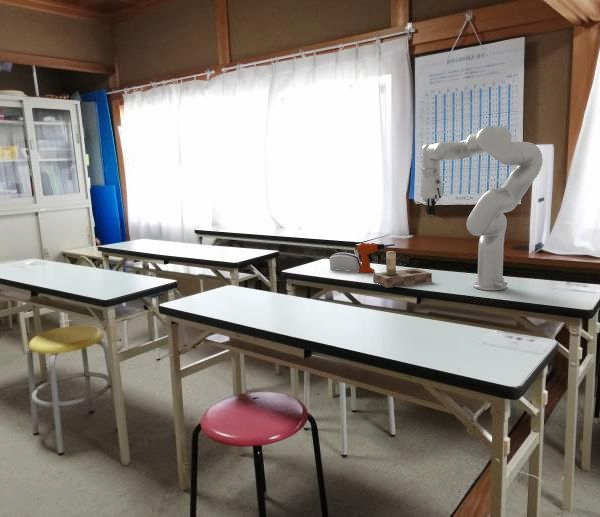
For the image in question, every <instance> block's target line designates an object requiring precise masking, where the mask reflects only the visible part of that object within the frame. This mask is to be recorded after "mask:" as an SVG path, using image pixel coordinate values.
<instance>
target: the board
mask: <svg viewBox="0 0 600 517" xmlns="http://www.w3.org/2000/svg"><path fill="white" fill-rule="evenodd" d="M372 274H373V275H372V276H373V277H372V280H373V283H374V282H375V283H374V284H376V283H378V284H377V285H379V284H380V285H379V286H381V285H382V286H381V287H384V288H387V289H388V288H394V287H393V286H398V287H402V286H401V285H406V286H411V285H413V284H414V285H420V284H421V285H422V284H428V283H429V284H430V283H432V282H433V273H432V272H429V271H427V270H426V271H425V270H422V269H419V268H409V269H401V270H396V276H387V275H386V271H383V272H377V273H376V272H374V273H372Z"/></svg>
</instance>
